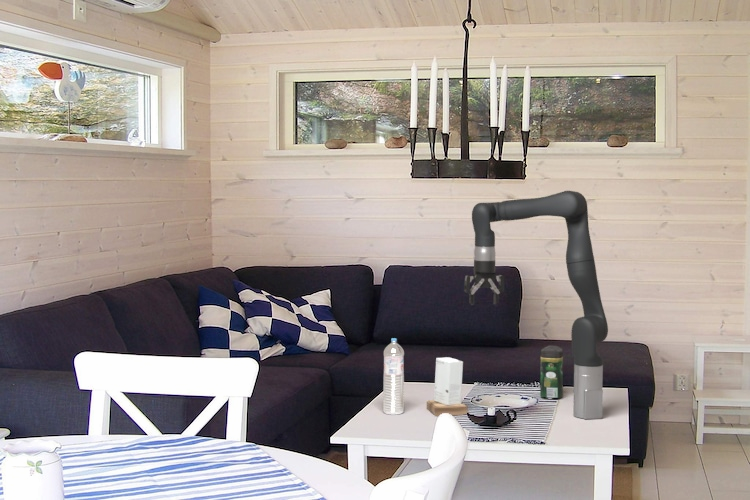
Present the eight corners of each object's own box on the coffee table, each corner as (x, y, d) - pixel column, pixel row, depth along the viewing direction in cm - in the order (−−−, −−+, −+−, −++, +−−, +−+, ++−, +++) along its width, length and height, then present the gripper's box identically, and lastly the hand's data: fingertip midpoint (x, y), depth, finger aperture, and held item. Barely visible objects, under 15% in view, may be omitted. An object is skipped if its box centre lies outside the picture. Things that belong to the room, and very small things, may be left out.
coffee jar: (542, 393, 345) (542, 343, 344) (563, 395, 343) (564, 344, 342) (538, 399, 336) (539, 347, 335) (560, 400, 334) (561, 348, 333)
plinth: (467, 414, 311) (467, 405, 311) (435, 416, 309) (435, 407, 309) (457, 407, 322) (457, 398, 322) (426, 408, 320) (426, 400, 319)
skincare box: (433, 401, 317) (434, 357, 316) (447, 399, 321) (448, 356, 320) (448, 406, 310) (448, 361, 309) (462, 404, 313) (463, 360, 313)
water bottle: (390, 409, 318) (391, 336, 317) (407, 412, 314) (408, 338, 313) (379, 413, 313) (379, 338, 311) (396, 416, 309) (396, 340, 307)
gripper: (468, 260, 326) (468, 306, 327) (507, 259, 329) (506, 305, 330) (462, 258, 333) (461, 304, 334) (500, 258, 336) (499, 303, 337)
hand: (484, 304), depth 332 cm, fingers open, 8 cm apart
